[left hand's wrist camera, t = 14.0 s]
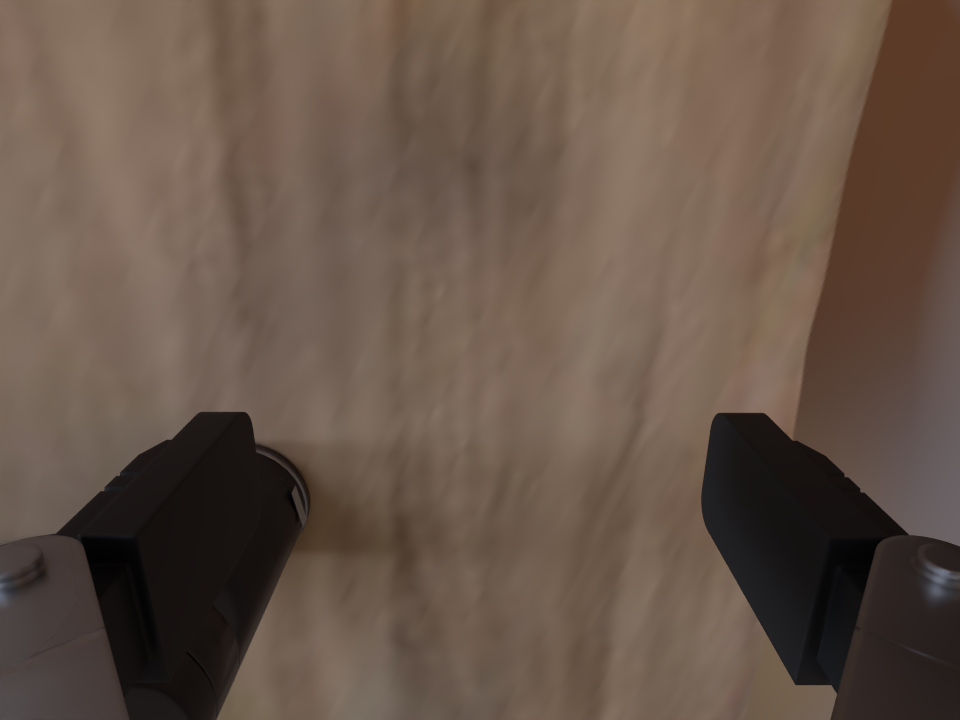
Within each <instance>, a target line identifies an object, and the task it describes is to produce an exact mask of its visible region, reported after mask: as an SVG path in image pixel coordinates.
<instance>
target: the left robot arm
mask: <svg viewBox="0 0 960 720" xmlns="http://www.w3.org/2000/svg"><path fill="white" fill-rule="evenodd" d="M701 505H702V514H703V519H704V522H705V525H706V528H707V530H708V532H709V534H710V535H711V537H712V539H713V541H714V542H715V544H716V546H717V548H718V550H719V551H720V553H721V555H722V557H723V558H724V560H725V562H726V564H727V565H728V567H729V569H730V571H731V572H732V574H733V576H734V578H735V579H736V581H737V583H738V585H739V586H740V588H741V590H742V592H743V594H744V595H745V597H746V599H747V601H748V602H749V604H750V606H751V608H752V609H753V611H754V613H755V615H756V616H757V618H758V620H759V622H760V623H761V625H762V627H763V629H764V630H765V632H766V634H767V636H768V637H769V639H770V641H771V643H772V645H773V646H774V648H775V650H776V652H777V653H778V655H779V657H780V659H781V660H782V662H783V664H784V666H785V667H786V669H787V671H788V673H789V674H790V676H791V678H792V680H793V681H794V683H795V685H832V687H833V688H834V690H835V691H836V693H837V697H836V701H835V705H834V708H833V712H832V716H831V720H960V546H957V545H954V544H951V543H948V542H945V541H941V540H937V539H933V538H928V537H922V536H914V535H909V534H908V533H907V532H906V531H904V530H903V529H902V528H901V527H900V526H899V525H898V524H897V523H896V522H895V521H894V520H893V519H892V518H891V517H890V516H889V515H888V514H886V513H885V512H884V511H883V510H882V509H881V508H880V507H879V506H878V505H877V504H876V503H875V502H874V501H873V500H872V499H871V498H869V497H868V496H867V495H866V494H865V493H861V492H860V488H859V487H858V486H857V485H856V484H855V483H854V482H853V481H851V480H850V479H849V478H848V477H844V473H843V472H842V471H841V470H840V469H839V468H838V467H837V466H836V465H835V464H833V463H832V462H831V461H830V460H829V459H828V458H827V457H826V456H824V455H823V454H821V453H819V452H817V451H815V450H813V449H811V448H810V447H808V446H806V445H804V444H802V443H800V442H798V441H792V440H791V439H790V438H789V437H788V436H787V435H786V434H785V433H784V432H783V431H782V430H781V429H780V428H779V427H778V426H777V425H776V424H775V423H774V422H773V421H772V420H771V419H770V418H769V417H768V416H767V415H766V414H764V413H718V414H717V415H716V416H715V417H714V419H713V421H712V425H711V430H710V437H709V444H708V451H707V458H706V465H705V472H704V479H703V487H702V495H701ZM309 508H310V501H309V494H308V490H307V488H306V485H305V483H304V481H303V479H302V477H301V476H300V474H299V473H298V472H297V470H296V469H295V468H294V467H293V466H292V465H291V464H290V463H289V462H288V461H287V460H285V459H284V458H283V457H281V456H280V455H278V454H277V453H275V452H273V451H271V450H269V449H266V448H264V447H261V446H257V445H255V440H254V433H253V426H252V422H251V419H250V417H249V415H248V414H247V413H246V412H200V413H198V414H197V415H196V416H195V417H194V418H193V419H192V420H191V421H190V422H189V423H188V424H187V425H186V426H185V427H184V428H183V429H182V430H181V431H180V432H179V433H178V434H177V435H176V436H175V437H174V438H173V439H172V440H166V441H164V442H162V443H160V444H158V445H156V446H154V447H153V448H151V449H149V450H147V451H145V452H143V453H141V454H139V455H138V456H137V457H136V458H135V459H134V460H133V461H132V462H131V463H130V464H129V465H128V466H127V467H126V468H124V469H123V470H122V471H121V472H120V476H116V477H115V478H114V479H113V480H112V481H111V482H110V483H109V484H108V485H107V486H106V487H105V490H104V491H100V492H99V493H98V494H97V495H96V496H95V497H94V498H93V499H92V500H91V501H90V502H89V503H88V504H87V505H86V506H85V507H84V508H82V509H81V510H80V511H79V512H78V513H77V514H76V515H75V516H74V517H73V518H72V519H71V520H70V521H69V522H68V523H67V524H66V525H65V526H64V527H63V528H61V529H60V530H59V531H58V532H57V533H56V534H51V535H44V536H37V537H32V538H27V539H23V540H19V541H15V542H12V543H8V544H5V545H1V546H0V720H217V718H218V715H219V713H220V711H221V709H222V706H223V704H224V702H225V700H226V697H227V695H228V693H229V691H230V688H231V686H232V684H233V682H234V679H235V677H236V675H237V672H238V670H239V668H240V666H241V663H242V661H243V659H244V657H245V654H246V652H247V650H248V648H249V645H250V643H251V641H252V639H253V637H254V634H255V632H256V630H257V628H258V625H259V623H260V621H261V619H262V616H263V614H264V612H265V610H266V607H267V605H268V603H269V601H270V598H271V596H272V594H273V592H274V590H275V587H276V585H277V583H278V581H279V578H280V576H281V574H282V572H283V569H284V567H285V565H286V563H287V560H288V558H289V556H290V554H291V552H292V549H293V547H294V545H295V542H296V540H297V538H298V537H299V535H300V534H301V532H302V530H303V528H304V526H305V524H306V521H307V519H308V515H309Z"/></svg>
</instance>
